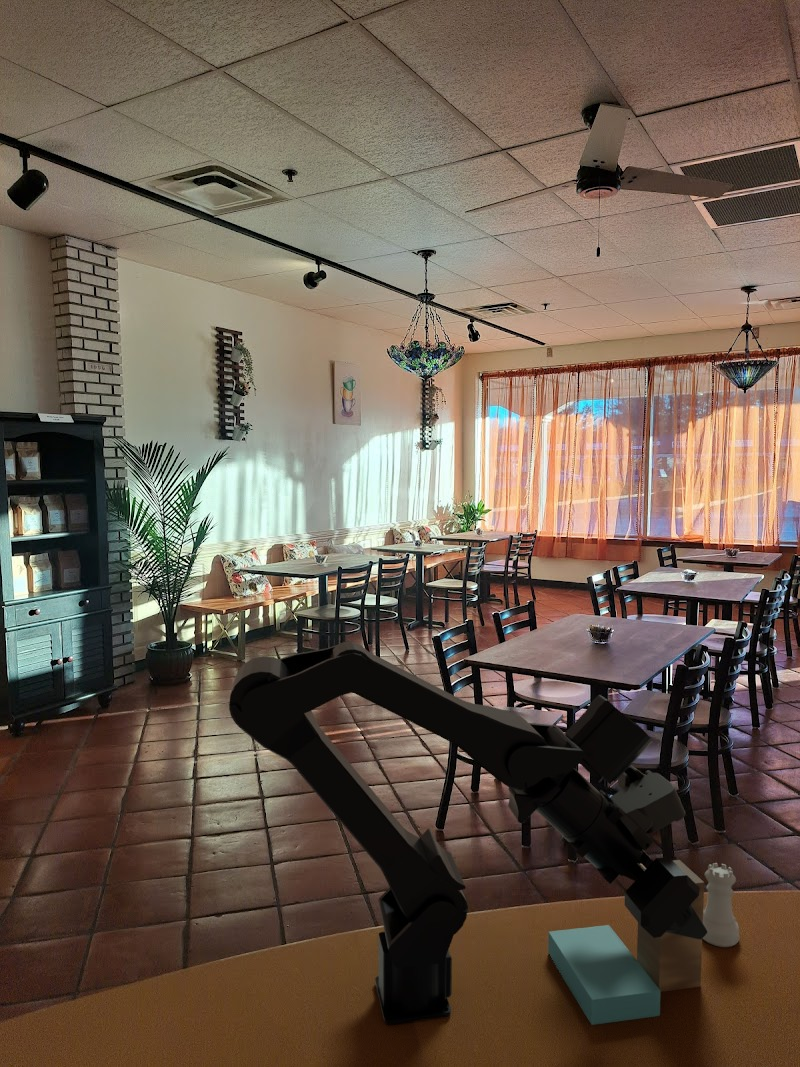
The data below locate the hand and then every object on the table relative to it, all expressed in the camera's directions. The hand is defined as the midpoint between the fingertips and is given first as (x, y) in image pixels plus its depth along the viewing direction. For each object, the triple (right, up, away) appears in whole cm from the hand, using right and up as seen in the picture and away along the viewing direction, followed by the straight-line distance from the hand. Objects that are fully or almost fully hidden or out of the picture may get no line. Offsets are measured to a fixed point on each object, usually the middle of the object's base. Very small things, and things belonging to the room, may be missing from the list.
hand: (679, 908), depth 79 cm
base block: (-9, -7, -1) cm, 11 cm away
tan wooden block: (-1, -7, 0) cm, 7 cm away
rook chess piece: (+7, -7, +7) cm, 12 cm away
